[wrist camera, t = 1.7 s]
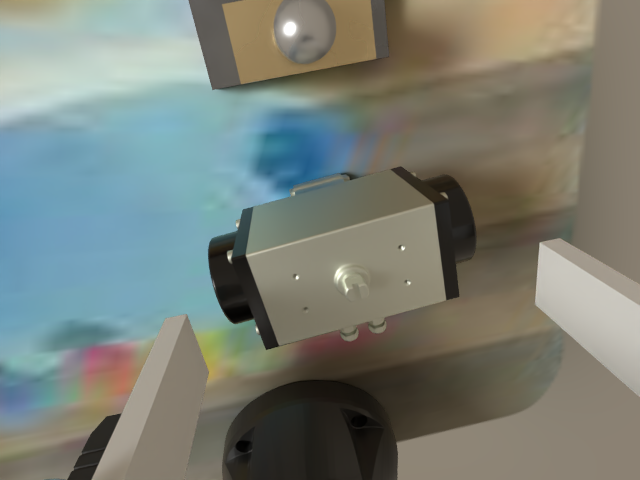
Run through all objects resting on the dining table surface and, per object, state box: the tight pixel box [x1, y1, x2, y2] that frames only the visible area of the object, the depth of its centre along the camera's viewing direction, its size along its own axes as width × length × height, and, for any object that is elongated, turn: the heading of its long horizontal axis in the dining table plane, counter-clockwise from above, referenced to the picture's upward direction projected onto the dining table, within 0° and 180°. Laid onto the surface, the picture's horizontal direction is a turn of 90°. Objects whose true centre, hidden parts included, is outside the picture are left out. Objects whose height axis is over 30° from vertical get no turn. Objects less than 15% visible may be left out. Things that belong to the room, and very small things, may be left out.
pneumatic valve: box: [208, 167, 476, 350], centre depth 20 cm, size 6×12×12 cm, turn 104°
